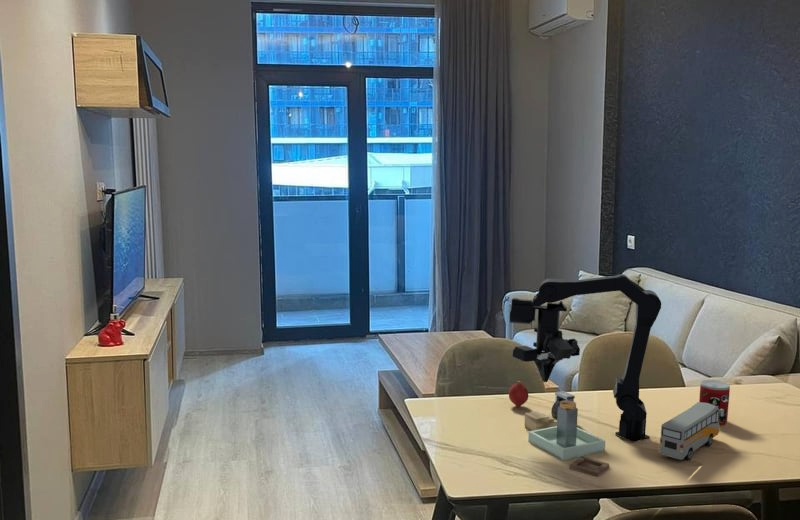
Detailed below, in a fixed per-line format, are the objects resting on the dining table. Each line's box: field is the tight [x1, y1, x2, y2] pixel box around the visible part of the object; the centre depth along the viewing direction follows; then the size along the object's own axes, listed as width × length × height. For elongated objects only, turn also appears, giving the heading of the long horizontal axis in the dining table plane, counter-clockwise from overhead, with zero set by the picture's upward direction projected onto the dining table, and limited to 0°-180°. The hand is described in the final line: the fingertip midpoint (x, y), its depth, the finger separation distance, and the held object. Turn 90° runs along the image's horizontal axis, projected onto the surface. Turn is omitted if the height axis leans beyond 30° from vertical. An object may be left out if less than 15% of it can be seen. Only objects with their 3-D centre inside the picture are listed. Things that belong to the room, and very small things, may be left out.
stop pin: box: [556, 400, 579, 448], centre depth 185 cm, size 4×4×11 cm
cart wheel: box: [551, 390, 576, 419], centre depth 203 cm, size 7×5×8 cm
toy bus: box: [659, 401, 724, 462], centre depth 185 cm, size 7×26×10 cm, turn 136°
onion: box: [508, 380, 529, 408], centre depth 216 cm, size 6×6×8 cm
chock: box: [523, 410, 557, 431], centre depth 199 cm, size 8×5×4 cm, turn 118°
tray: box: [528, 426, 606, 461], centre depth 186 cm, size 14×14×3 cm
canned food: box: [698, 379, 731, 426], centre depth 206 cm, size 8×8×11 cm
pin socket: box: [568, 456, 610, 478], centre depth 172 cm, size 7×7×1 cm
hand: (545, 381), depth 197 cm, fingers closed
